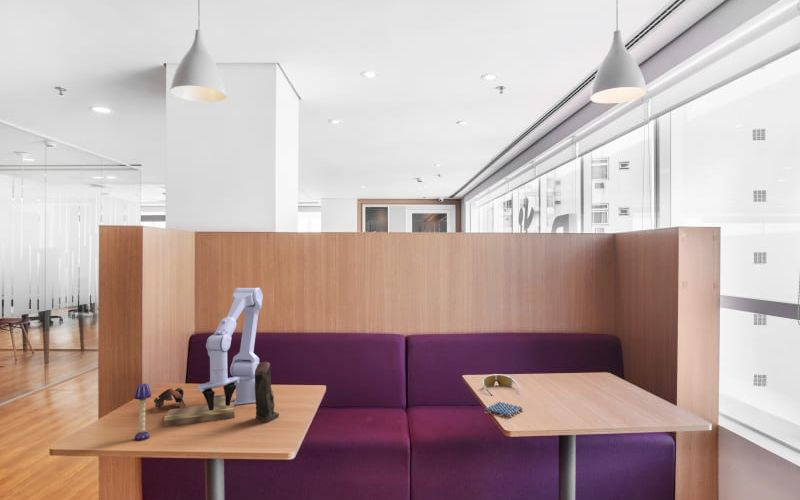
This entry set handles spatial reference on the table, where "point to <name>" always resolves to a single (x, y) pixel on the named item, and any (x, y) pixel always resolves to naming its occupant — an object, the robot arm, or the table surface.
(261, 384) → the statue
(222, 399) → the wooden mallet
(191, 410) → the walnut board
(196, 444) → the table surface
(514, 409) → the woven mat
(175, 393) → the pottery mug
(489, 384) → the sunglasses
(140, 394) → the toy lamp
